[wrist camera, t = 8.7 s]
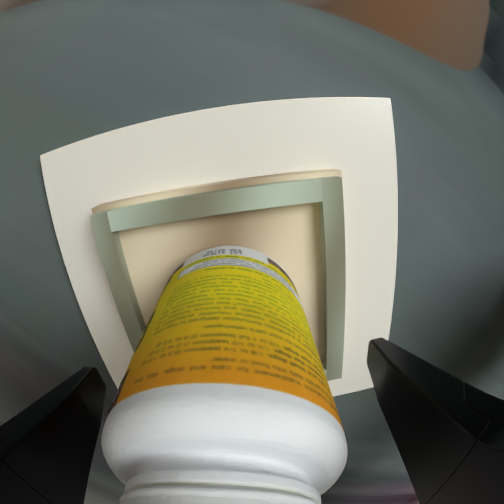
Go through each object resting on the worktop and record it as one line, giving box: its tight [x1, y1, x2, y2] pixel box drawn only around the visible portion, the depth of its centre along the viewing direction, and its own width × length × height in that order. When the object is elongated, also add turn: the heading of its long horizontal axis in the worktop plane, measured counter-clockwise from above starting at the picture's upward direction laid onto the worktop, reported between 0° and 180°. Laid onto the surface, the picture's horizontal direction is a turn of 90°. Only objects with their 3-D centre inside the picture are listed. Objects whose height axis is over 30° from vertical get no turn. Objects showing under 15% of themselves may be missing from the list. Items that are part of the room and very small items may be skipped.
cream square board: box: [40, 97, 398, 396], centre depth 14 cm, size 16×16×1 cm
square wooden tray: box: [90, 168, 346, 381], centre depth 13 cm, size 10×10×2 cm
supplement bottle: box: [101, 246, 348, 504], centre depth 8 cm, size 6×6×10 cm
